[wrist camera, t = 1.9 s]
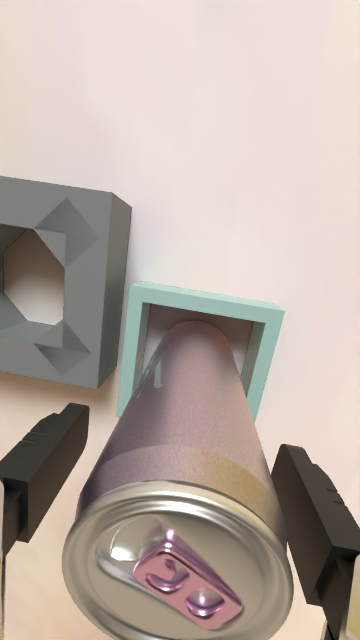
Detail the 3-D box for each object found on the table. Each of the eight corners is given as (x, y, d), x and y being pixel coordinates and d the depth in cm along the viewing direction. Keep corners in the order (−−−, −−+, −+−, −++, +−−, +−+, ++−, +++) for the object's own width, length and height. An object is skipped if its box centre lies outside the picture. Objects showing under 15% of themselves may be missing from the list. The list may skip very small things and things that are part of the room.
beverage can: (197, 398, 21) (183, 695, 7) (145, 354, 21) (9, 575, 6) (245, 351, 20) (363, 601, 5) (191, 303, 19) (156, 435, 5)
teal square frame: (272, 303, 19) (284, 311, 16) (242, 418, 21) (248, 443, 18) (140, 281, 19) (129, 285, 16) (127, 396, 22) (116, 416, 19)
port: (131, 207, 18) (108, 190, 14) (116, 366, 21) (94, 393, 17) (-33, 182, 19) (-105, 158, 14) (-24, 340, 22) (-80, 360, 18)
